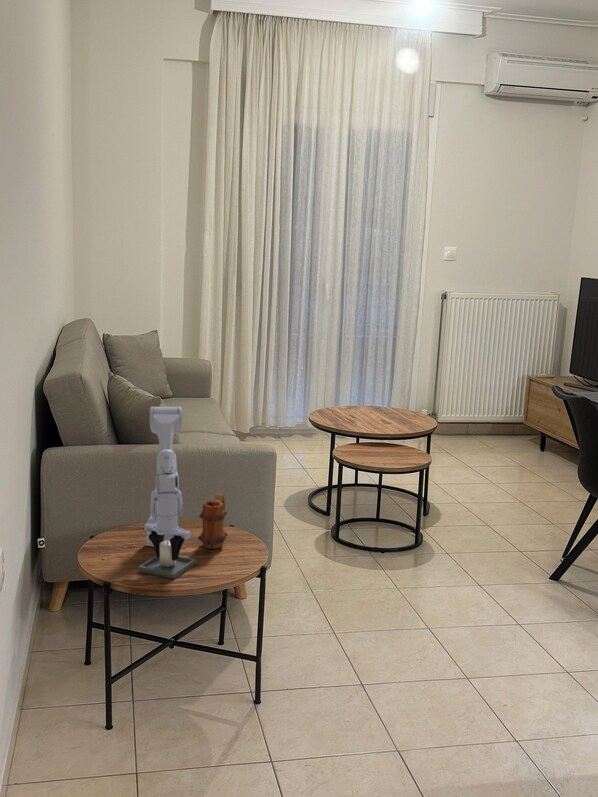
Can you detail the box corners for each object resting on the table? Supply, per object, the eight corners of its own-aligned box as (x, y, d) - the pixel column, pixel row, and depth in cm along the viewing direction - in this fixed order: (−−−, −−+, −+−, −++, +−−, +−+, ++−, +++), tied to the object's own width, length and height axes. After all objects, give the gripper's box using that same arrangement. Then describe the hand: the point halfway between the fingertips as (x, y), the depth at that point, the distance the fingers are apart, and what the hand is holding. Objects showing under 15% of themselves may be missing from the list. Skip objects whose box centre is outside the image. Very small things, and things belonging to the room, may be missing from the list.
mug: (220, 553, 248) (221, 507, 245) (195, 550, 250) (195, 504, 247) (234, 536, 262) (234, 492, 259) (210, 533, 264) (210, 489, 261)
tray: (138, 571, 233) (138, 566, 233) (161, 556, 244) (161, 551, 244) (173, 579, 229) (173, 574, 228) (195, 564, 239) (195, 559, 239)
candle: (156, 563, 236) (156, 542, 234) (167, 558, 240) (166, 536, 238) (168, 567, 233) (168, 545, 232) (179, 562, 237) (179, 540, 236)
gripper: (138, 513, 232) (138, 557, 235) (181, 522, 227) (181, 567, 229) (152, 506, 238) (152, 549, 241) (194, 514, 233) (194, 558, 236)
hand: (167, 557), depth 236 cm, fingers closed on candle, 5 cm apart
